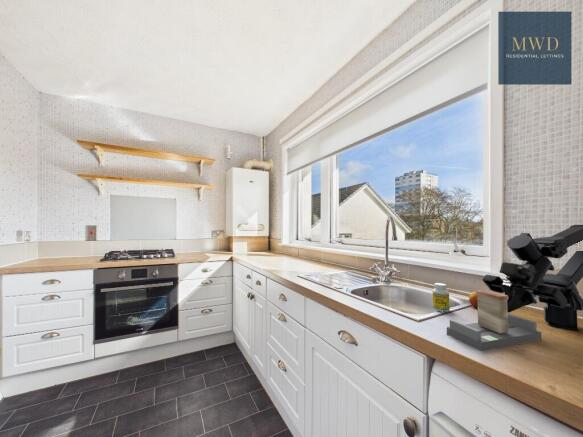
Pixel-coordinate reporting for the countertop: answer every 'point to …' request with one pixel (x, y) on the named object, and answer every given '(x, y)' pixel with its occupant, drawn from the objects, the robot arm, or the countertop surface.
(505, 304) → the wooden rectangular block
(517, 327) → the grooved grey tray
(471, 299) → the fruit
